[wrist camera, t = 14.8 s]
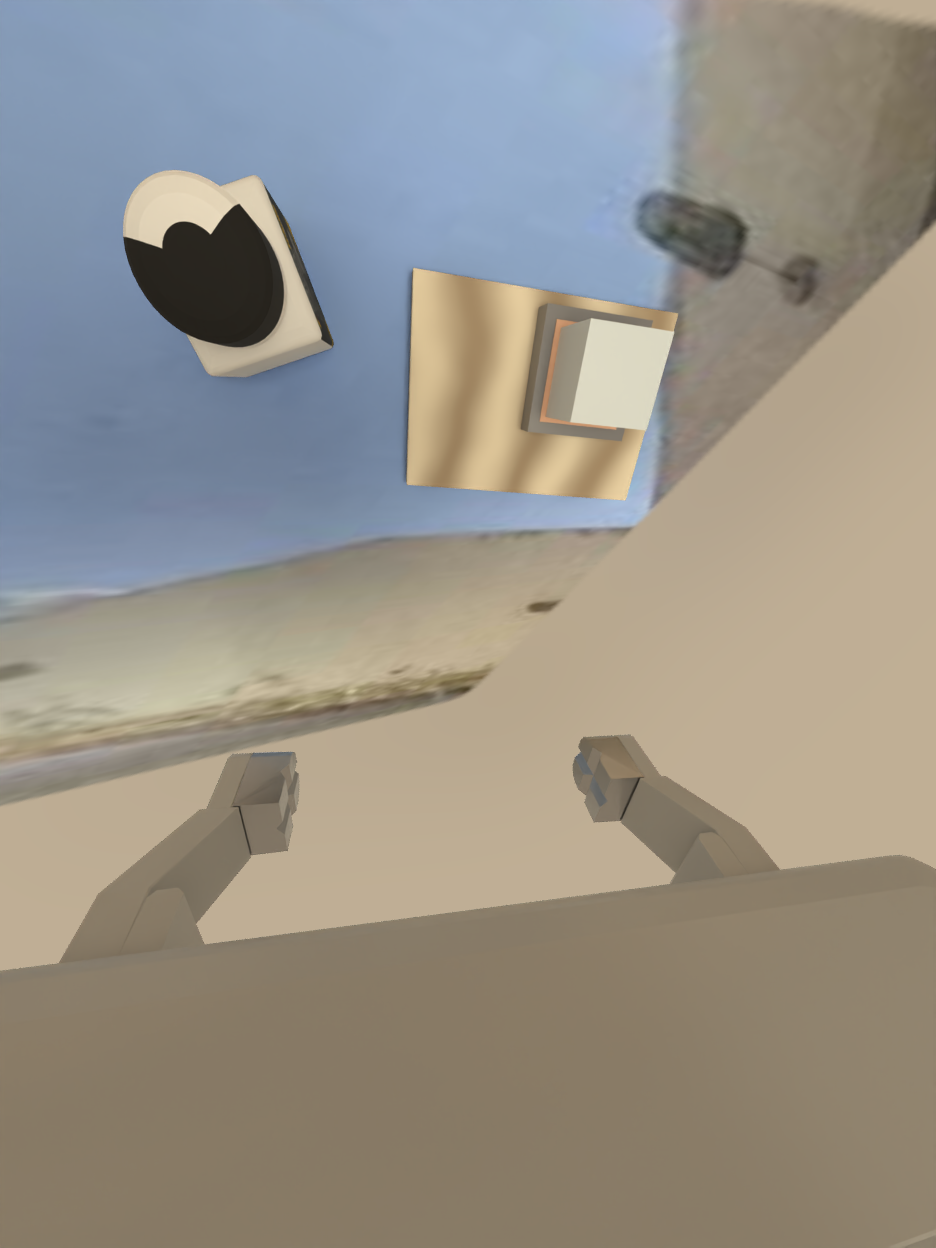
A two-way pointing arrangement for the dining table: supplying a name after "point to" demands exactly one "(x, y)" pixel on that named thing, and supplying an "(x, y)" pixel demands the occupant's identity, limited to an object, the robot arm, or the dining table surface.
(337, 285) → the dining table surface
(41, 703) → the dining table surface
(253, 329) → the medicine bottle
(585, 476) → the board
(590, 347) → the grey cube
